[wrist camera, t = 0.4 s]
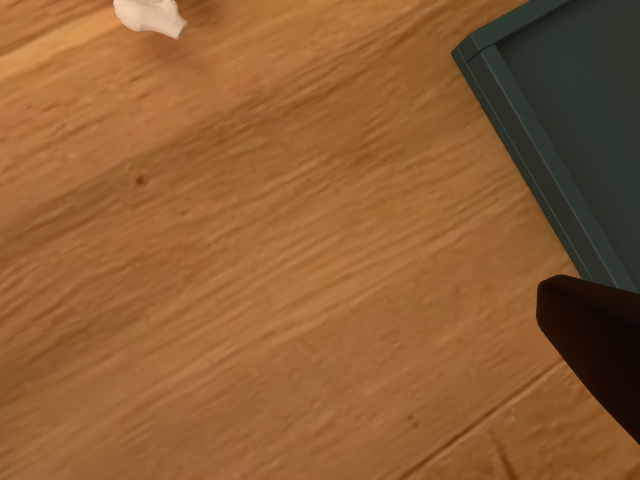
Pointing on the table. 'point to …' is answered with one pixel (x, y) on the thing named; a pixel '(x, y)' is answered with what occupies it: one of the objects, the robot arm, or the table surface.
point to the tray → (570, 121)
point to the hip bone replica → (151, 16)
